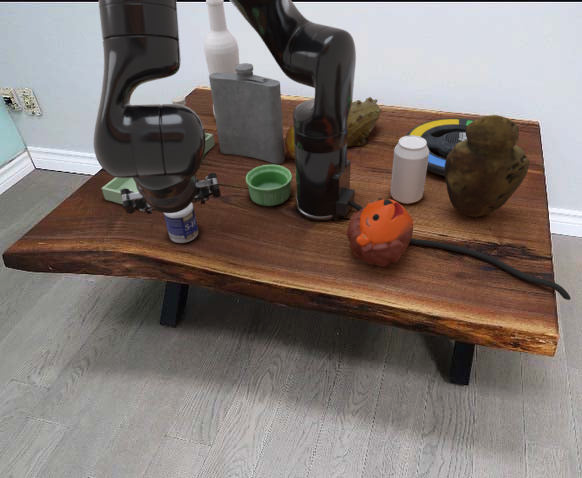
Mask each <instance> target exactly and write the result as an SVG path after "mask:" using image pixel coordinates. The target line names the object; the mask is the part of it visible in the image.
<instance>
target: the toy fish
mask: <svg viewBox="0 0 582 478" xmlns="http://www.w3.org/2000/svg"><path fill="white" fill-rule="evenodd" d="M347 225H348V227H347V229H346V238H347V239H348V242H349V249H350V251H351V252H352V253H353V254H354V255H355V256H356V257H357V258H358V259H359V260H360V261H362V262H364V263H368V264H371V265H378V266H380V267H385V266H387V265H389V264H391V263H397V262H398V261H399V260H400V257H401V255H402V254H403V253H404V252H405V251H406V250H407V248H408V247H409V244H410V243H409V242H410V239H411V238H413V237H412V236H413V234H414V225H415V223H414V219H413V218H412V217H411V215H410V214H409V213H408V211H407V210H406V209H405V207H404V206H403V205H401V203H400V202H399V201H397V200H395V199H392V198H391V199H390V198H389V199H388V198H385V199H384V198H377V200H376V201H371V202H368V203H367V204H366V206H365V207H363V208H362V209H361V210H359V211H356V212H355V213H353V214H352V215H351V217H350V219H349V221H348V224H347Z"/></svg>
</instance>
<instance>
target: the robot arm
mask: <svg viewBox="0 0 582 478" xmlns="http://www.w3.org/2000/svg"><path fill="white" fill-rule="evenodd" d="M229 2H230V3H231V4H232V5H233V7H234V8H236V10H237V12H239V14H240V15H241V16H242V17H243V18H244V20H245V21H246V22H247V23H248V25H250V26H251V28H252V29H253V30H254V31H255V32H256V33H257V35H258V36H259V38H260V39H261V41H262V42H263V43H264V45H265V47H266V48H267V50H268V52H269V53H270V54H271V56H272V58H273V59H274V61H275V62H276V64H277V65H278V67H279V69H280V70H281V71H282V72H283V74H284V75H285V76H286V77H287V78H288V79H290V80H291V81H293V82H296V83H298V84H300V85H303V86H307V87H310V88H313V89H314V98H311V99H308V100H305V101H302V102H301V103H299V104H298V105H297V106H296V107H295V108H294V109H293V113H292V117H293V118H292V122H293V124H292V125H294V146H295V159H294V162H295V163H294V164H295V165H294V166H295V186H296V187H295V189H296V195H295V199H296V209H297V212H298V213H299V214H300V215H301V216H302V217H303V218H305V219H307V220H311V221H316V222H328V221H340V219H341V217H342V216H343V217H346V216H347V214H348V213H349V211H350V210H351V208H352V209H354V210H356V211H357V212H359V210H361V209H362V208H364V207H363V206H361V205H360V204H358V203H356V202H355V200H356V199H355V197H356V190H355V189H354V188H351V167H352V164H351V163H352V162H351V160H350V159H348V146H347V139H348V117H349V113H350V110H351V106H352V103H353V100H354V87H355V76H356V75H355V74H356V66H357V65H356V63H357V50H356V44H355V40H354V37H353V36H352V34H351V33H350V32H349V31H348V30H346V29H342V28H338V27H335V26H329V25H326V24H321V23H316V22H313V21H311V20H310V19H307V18H306V17H305V16H304V15H303V14H302V13H301V11H300V10H299V9H298V8H297V7H296V5H295V3H294V2H293V1H292V0H229ZM177 3H178V2H177V0H98V10H99V19H100V21H99V22H100V30H101V37H102V38H101V39H102V48H103V74H102V75H103V76H102V84H101V92H100V99H99V105H98V111H97V114H96V120H95V125H94V133H93V150H94V156H95V158H96V160H97V162H98V164H99V166H100V167H101V168H102V169H103V171H105V172H106V174H108V175H109V176H111V177H113V178H115V177H117V178H133V179H134V181H135V184H136V186H137V190H138V192H136V193H133V190H129V189H126V188H124V189H122V190H120V192H121V197H122V202H123V204H122V206H123V207H122V208H123V209H124V210H125V212H126V214H130V215H132V214H134V213H136V210H139V213H146V214H147V215H152V214H153V211H157V212H160V213H162V214H164V213H176V212H179V211H181V210H183V209H185V208H186V207H188V206H189V205H190V203H192V204H195V203H198V202H200V205H205V204H206V202H207V201H209V200H210V197H211V196H212V197H213V198H216V199H218V198H220V197H222V194H221V190H220V186H219V185H220V184H219V180H218V175H217V173H216V172H210V173H208V174H207V176H205V177H204V178H205V179H204V180H203V179H202V180H200V179H198V178H197V175H196V174H197V172H198V171H199V169H200V167H201V165H202V162H203V160H204V158H205V157H204V156H205V154H206V153H205V144H206V139H205V133H206V132H205V127H204V124H203V122H202V119H201V118H200V116H199V115H198V113H196V112H195V111H194V110H193V109H192V108H190V107H188V106H186V105H185V106H184V105H180V104H173V103H162V104H160V103H155V104H154V103H151V104H131V97H132V95H133V93H134V91H136V90H137V88H138V87H139V86H141V85H143V84H146V83H150V82H152V81H157V80H161V79H166V78H169V77H172V76H174V75H176V74H177V73H178V72H179V70H180V68H181V60H182V57H181V44H180V29H179V15H178V4H177ZM204 153H205V154H204ZM409 244H412V245H416V246H417V245H418V246H424V247H433V248H438V249H444V250H448V251H453V252H456V253H460V254H465V255H469V256H471V257H475V258H477V259H480V260H483V261H486V262H488V263H490V264H493V265H495V266H496V267H499V268H501V269H503V270H504V271H506V272H508V273H510V274H512V275H514V276H515V277H517V278H519V279H522V280H523V281H526V282H529V283H532V284H535V285H536V284H537V285H540V286H544V287H547V288H551V289H552V290H554V291H555V292H557V293H558V294H559V295H560V296H561V297H562V298H563V299H564V300H566V301H570V300H572V299H571V296H570V294H569V293H568V291H566V289H565V288H563V286H561V285H560V284H558V283H556V282H554V281H551V280H548V279H544V278H540V277H535V276H533V275H529V274H527V273H524V272H522V271H521V270H518V269H517V268H515V267H513V266H511V265H509V264H507V263H505V262H504V261H501V260H500V259H499V258H495V257H493V256H491V255H488V254H486V253H483V252H480V251H477V250H474V249H470V248H467V247H463V246H458V245H454V244H450V243H445V242H440V241H436V240H435V241H434V240H426V239H420V238H414V237H411V239H410V242H409Z"/></svg>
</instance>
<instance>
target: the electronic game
mask: <svg viewBox="0 0 582 478" xmlns="http://www.w3.org/2000/svg"><path fill="white" fill-rule="evenodd" d="M474 120H475V119H472V118H471V119H470V118H461V117H445V118H443V117H442V118H436V119H431V120H427V121H424V122H421V123H419V124H417V125H416V126H414V127H413V128H411V129H410V130H409V131H408V132H407V133H406V134H405V136H409V135H414V136H419V137H422V138H424V139H425V140H426V142H427V144H426V145H427V147H428V149H429V157H428V164H427V171H428V172H430V173H432V174H436V175H438V176H442V177H445V173H444V169H445V162H446V158H447V155H448V154H449V153H450V152H451V151H452V149H453V148H454V147H455V146H456V144H458V143H459V142H462V141H464V140H466V139H467V137H466V132H465V128H466V127H467V126H468V125H469V124H470V123H471V122H472V121H474ZM515 145H516V146H517V143H516V144H515ZM432 151H433V152H437V153H438V155H436V154H435V153H433V152H432Z"/></svg>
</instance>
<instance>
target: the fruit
mask: <svg viewBox="0 0 582 478" xmlns="http://www.w3.org/2000/svg"><path fill="white" fill-rule="evenodd" d="M284 147H285V150H286V152H287V154H288V155H289V157H290V158H291V159H293V160H295V146H294V125H293V124H292V125H291V126H290V127H289V128H288V130H287V131H286V134H285V138H284Z"/></svg>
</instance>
